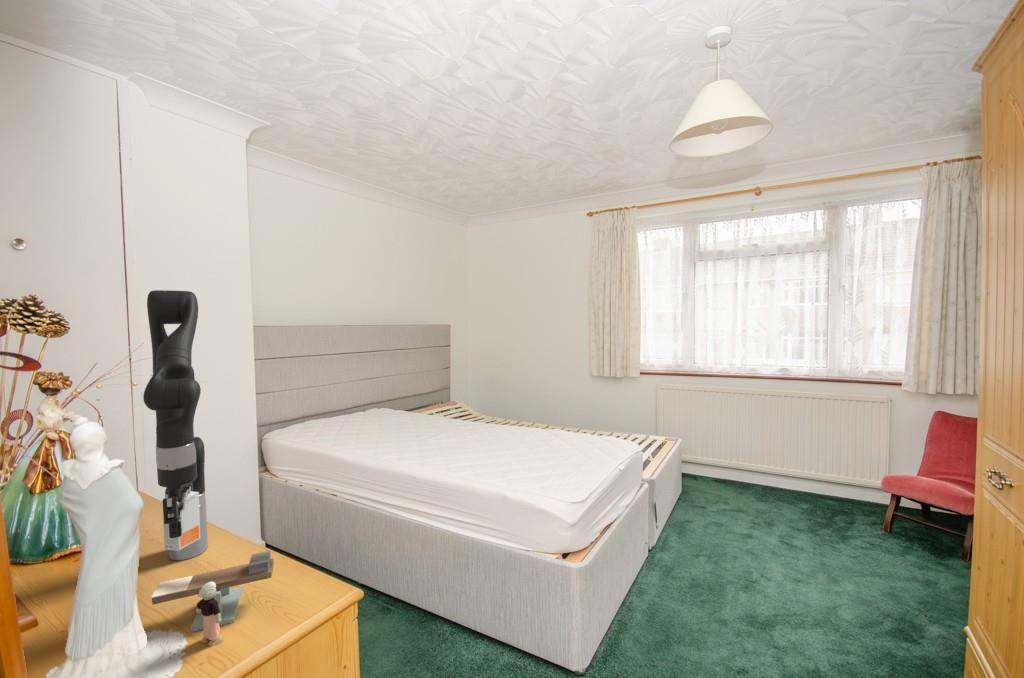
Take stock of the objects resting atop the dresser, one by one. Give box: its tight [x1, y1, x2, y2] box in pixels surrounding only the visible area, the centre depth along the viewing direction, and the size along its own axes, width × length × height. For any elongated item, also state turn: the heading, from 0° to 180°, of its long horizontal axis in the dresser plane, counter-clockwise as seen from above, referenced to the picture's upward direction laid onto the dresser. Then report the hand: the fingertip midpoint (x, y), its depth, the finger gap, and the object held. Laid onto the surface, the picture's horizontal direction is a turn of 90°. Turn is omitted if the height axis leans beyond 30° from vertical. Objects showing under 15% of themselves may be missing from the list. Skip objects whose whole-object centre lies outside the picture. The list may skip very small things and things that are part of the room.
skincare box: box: [162, 491, 200, 551], centre depth 107 cm, size 6×4×12 cm
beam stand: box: [190, 586, 244, 633], centre depth 105 cm, size 12×8×7 cm, turn 22°
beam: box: [150, 550, 275, 606], centre depth 104 cm, size 7×23×5 cm, turn 112°
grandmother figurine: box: [195, 582, 225, 647], centre depth 95 cm, size 8×4×13 cm, turn 77°
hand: (180, 528), depth 107 cm, fingers closed on skincare box, 7 cm apart
